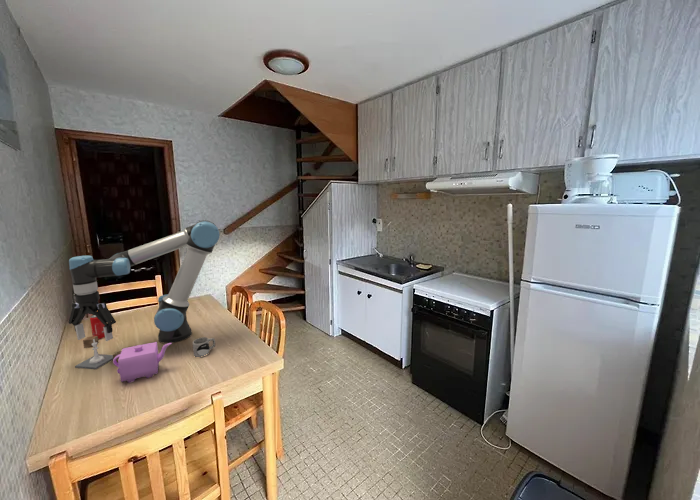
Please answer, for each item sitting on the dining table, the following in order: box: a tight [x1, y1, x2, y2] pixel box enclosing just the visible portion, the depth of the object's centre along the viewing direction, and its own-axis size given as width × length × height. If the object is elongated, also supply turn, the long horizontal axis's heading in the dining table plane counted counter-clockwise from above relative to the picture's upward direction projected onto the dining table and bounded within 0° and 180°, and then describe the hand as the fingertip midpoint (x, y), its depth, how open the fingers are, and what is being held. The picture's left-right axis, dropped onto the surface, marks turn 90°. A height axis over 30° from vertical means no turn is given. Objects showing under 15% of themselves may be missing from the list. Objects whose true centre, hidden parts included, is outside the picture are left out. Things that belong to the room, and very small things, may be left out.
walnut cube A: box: [82, 335, 100, 349], centre depth 143 cm, size 4×4×4 cm
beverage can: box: [89, 314, 105, 340], centre depth 151 cm, size 5×5×12 cm
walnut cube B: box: [112, 350, 122, 363], centre depth 129 cm, size 4×4×4 cm
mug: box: [192, 337, 216, 358], centre depth 137 cm, size 10×7×7 cm
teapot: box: [112, 341, 173, 384], centre depth 120 cm, size 20×10×12 cm, turn 120°
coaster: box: [74, 353, 113, 370], centre depth 129 cm, size 10×10×1 cm
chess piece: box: [90, 339, 104, 363], centre depth 128 cm, size 5×5×10 cm
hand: (95, 339), depth 127 cm, fingers open, 13 cm apart
